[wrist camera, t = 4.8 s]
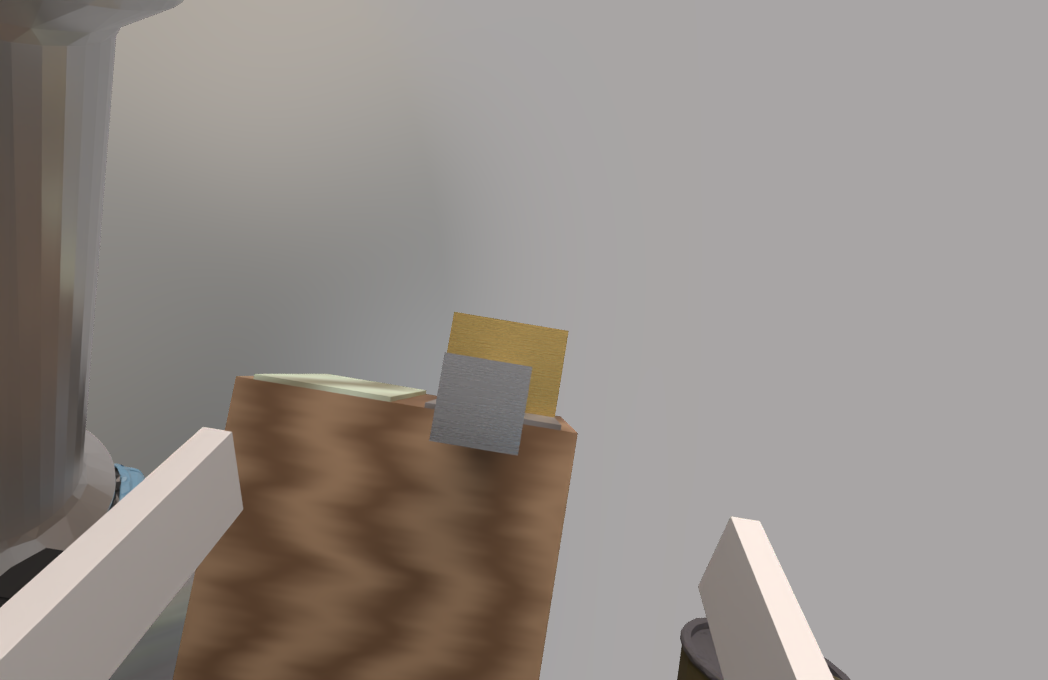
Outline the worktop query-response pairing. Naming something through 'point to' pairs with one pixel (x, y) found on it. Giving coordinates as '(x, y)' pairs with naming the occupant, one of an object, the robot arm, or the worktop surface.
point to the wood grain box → (376, 542)
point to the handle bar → (496, 381)
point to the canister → (711, 654)
